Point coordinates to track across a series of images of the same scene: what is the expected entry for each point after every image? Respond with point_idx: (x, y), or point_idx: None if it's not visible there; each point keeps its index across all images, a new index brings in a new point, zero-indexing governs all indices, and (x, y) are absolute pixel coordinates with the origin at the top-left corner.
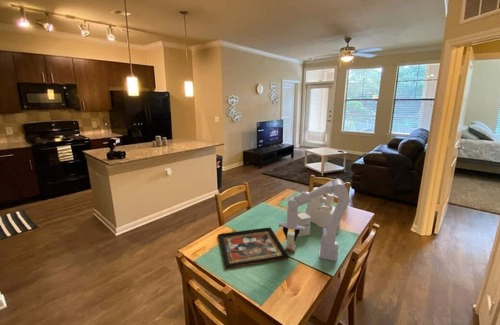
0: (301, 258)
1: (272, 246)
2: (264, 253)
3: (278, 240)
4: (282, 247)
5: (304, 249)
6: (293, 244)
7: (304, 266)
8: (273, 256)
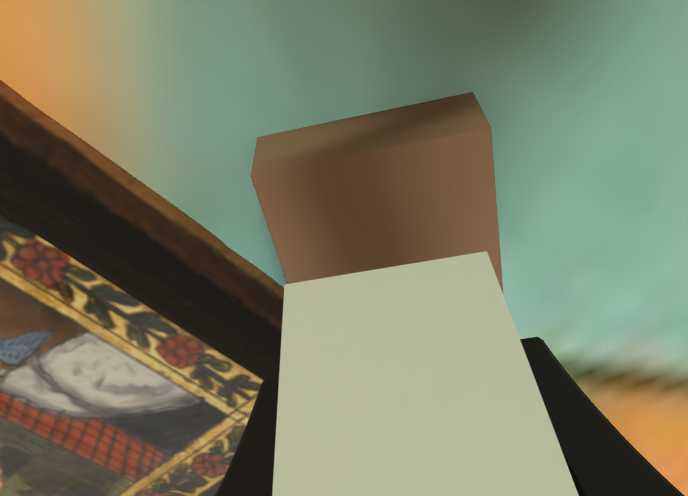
0: (618, 314)
1: (49, 321)
2: (76, 478)
3: (16, 157)
4: (244, 322)
5: (673, 51)
6: (424, 149)
7: (667, 418)
8: (222, 475)
